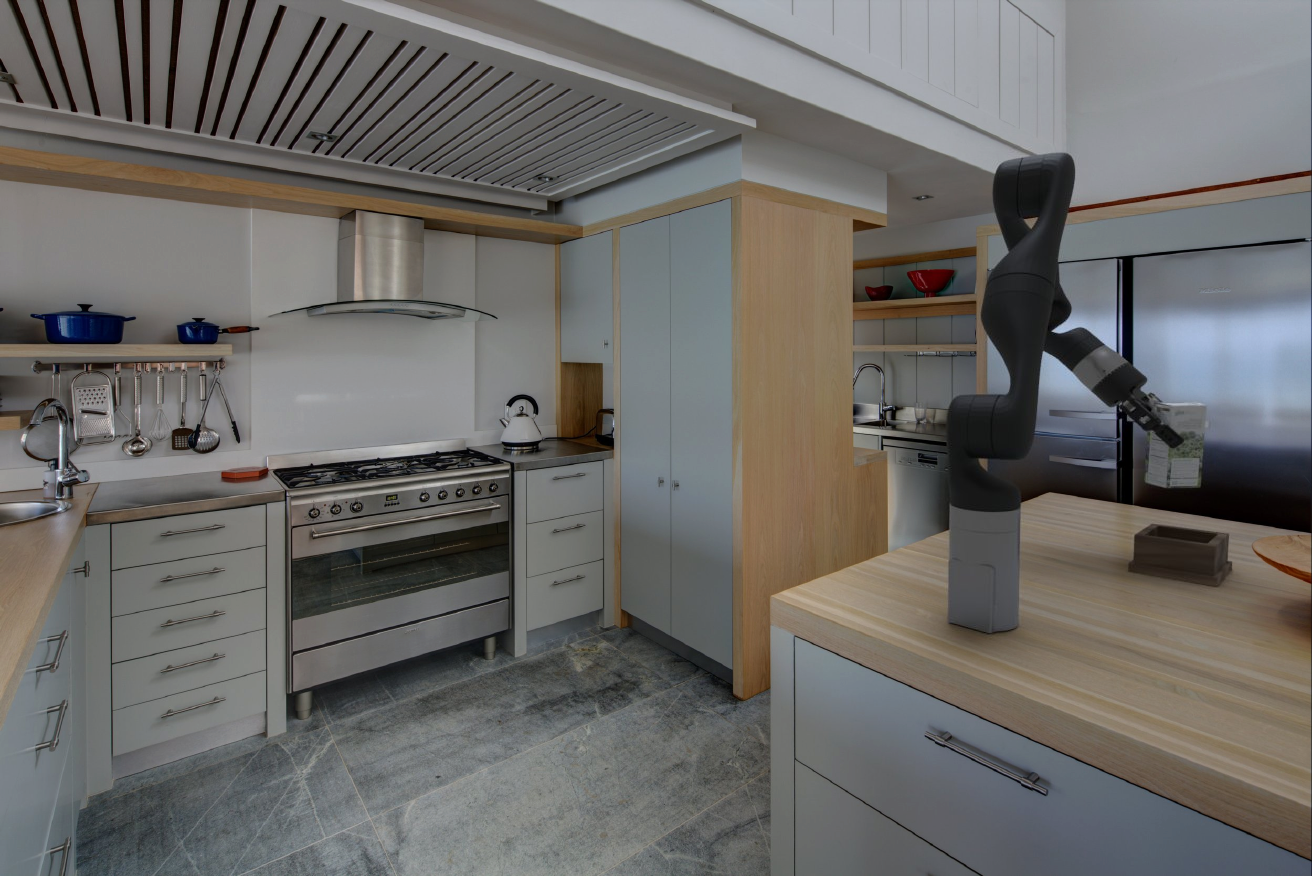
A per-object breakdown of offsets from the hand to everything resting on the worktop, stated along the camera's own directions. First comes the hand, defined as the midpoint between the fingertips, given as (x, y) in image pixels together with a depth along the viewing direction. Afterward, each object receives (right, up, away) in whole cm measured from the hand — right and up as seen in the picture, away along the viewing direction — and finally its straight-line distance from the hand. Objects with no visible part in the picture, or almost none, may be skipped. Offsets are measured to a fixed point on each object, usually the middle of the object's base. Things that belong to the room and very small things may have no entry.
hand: (1185, 442), depth 111 cm
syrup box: (-1, -8, +2) cm, 8 cm away
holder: (+1, -22, +3) cm, 23 cm away
